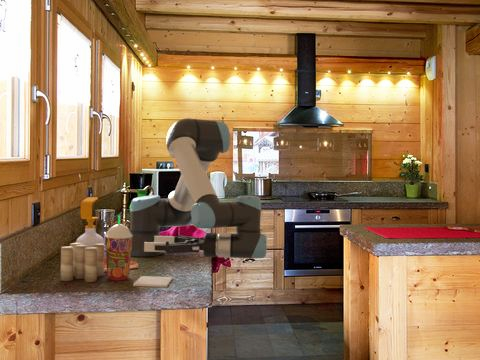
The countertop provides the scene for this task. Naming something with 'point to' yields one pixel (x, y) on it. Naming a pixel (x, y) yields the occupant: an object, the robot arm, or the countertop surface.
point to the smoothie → (118, 251)
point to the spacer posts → (82, 262)
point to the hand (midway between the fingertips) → (149, 243)
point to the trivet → (153, 281)
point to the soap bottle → (89, 224)
